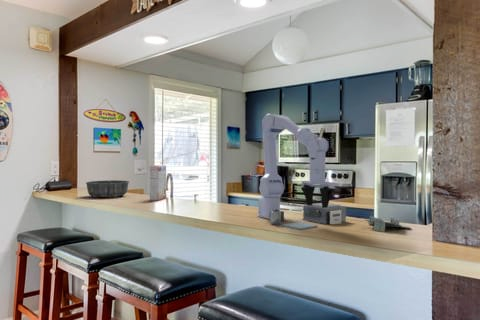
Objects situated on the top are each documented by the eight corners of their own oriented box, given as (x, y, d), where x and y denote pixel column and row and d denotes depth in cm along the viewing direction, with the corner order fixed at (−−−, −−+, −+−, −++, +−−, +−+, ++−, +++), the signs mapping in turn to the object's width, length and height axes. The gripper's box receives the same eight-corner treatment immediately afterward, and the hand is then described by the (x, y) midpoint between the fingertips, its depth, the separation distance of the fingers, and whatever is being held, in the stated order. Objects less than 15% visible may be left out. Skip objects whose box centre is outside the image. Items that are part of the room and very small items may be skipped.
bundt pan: (98, 200, 216) (98, 183, 216) (78, 196, 233) (78, 181, 233) (136, 197, 235) (137, 181, 235) (116, 194, 253) (116, 179, 253)
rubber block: (269, 221, 147) (269, 211, 147) (277, 220, 149) (277, 210, 149) (276, 222, 144) (276, 212, 144) (283, 221, 146) (283, 211, 146)
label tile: (329, 224, 139) (329, 211, 139) (339, 223, 143) (340, 210, 143) (331, 224, 139) (331, 211, 139) (341, 223, 142) (341, 210, 142)
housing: (302, 220, 149) (302, 204, 149) (323, 217, 156) (323, 202, 156) (324, 224, 139) (324, 207, 139) (345, 221, 147) (345, 205, 147)
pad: (282, 225, 135) (282, 224, 135) (299, 223, 141) (299, 222, 141) (299, 229, 128) (299, 228, 128) (317, 227, 133) (317, 225, 133)
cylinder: (268, 223, 140) (268, 209, 140) (276, 222, 142) (276, 208, 142) (275, 225, 137) (275, 210, 137) (282, 224, 139) (283, 209, 139)
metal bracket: (402, 217, 122) (358, 213, 132) (400, 235, 121) (356, 229, 131) (412, 224, 133) (371, 219, 143) (411, 240, 132) (370, 234, 141)
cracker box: (157, 198, 228) (157, 165, 228) (166, 198, 227) (166, 165, 227) (148, 200, 214) (149, 165, 214) (158, 200, 213) (158, 165, 213)
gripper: (296, 169, 139) (295, 204, 139) (325, 170, 127) (324, 209, 127) (308, 169, 143) (308, 203, 143) (338, 170, 131) (337, 207, 131)
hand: (317, 206), depth 135 cm, fingers open, 7 cm apart
